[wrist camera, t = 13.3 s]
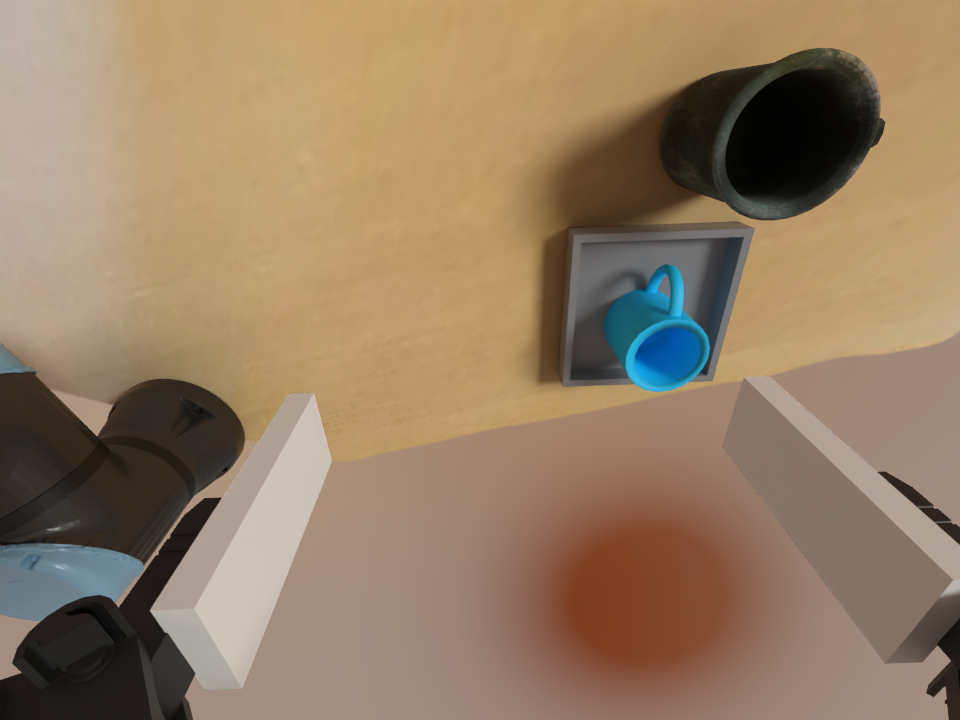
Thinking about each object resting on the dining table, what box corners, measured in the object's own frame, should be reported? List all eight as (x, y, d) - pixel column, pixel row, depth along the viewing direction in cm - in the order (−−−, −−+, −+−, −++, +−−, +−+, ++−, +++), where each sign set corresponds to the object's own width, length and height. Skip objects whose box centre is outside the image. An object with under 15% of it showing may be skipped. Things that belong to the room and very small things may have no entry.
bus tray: (558, 373, 54) (562, 386, 51) (567, 227, 45) (574, 234, 42) (700, 368, 54) (712, 381, 51) (738, 221, 45) (754, 228, 42)
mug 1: (664, 354, 52) (695, 393, 45) (597, 352, 52) (617, 390, 45) (694, 255, 46) (735, 281, 39) (618, 251, 46) (646, 277, 39)
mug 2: (661, 69, 38) (733, 53, 28) (828, 58, 38) (962, 37, 28) (645, 198, 44) (700, 226, 33) (792, 189, 44) (893, 213, 33)
